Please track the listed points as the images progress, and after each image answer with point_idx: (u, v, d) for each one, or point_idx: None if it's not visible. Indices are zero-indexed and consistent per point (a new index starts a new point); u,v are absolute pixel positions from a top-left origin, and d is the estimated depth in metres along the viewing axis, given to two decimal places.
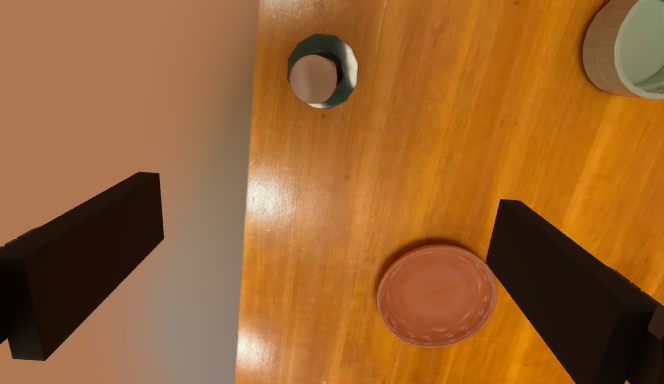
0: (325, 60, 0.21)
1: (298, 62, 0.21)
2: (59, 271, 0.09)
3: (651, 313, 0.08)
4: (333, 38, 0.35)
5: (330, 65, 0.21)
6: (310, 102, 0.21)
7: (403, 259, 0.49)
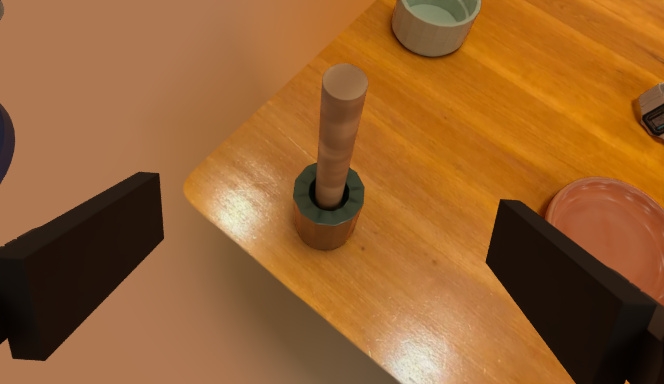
0: (336, 65, 0.22)
1: (324, 82, 0.21)
2: (59, 271, 0.09)
3: (651, 313, 0.08)
4: (308, 168, 0.37)
5: (342, 64, 0.22)
6: (362, 92, 0.21)
7: None
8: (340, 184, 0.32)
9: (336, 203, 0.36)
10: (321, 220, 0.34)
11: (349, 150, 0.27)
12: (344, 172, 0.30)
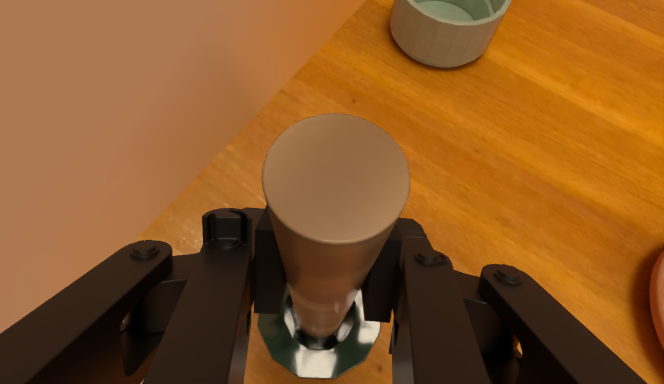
0: (304, 121, 0.07)
1: (267, 184, 0.06)
2: None
3: (399, 247, 0.10)
4: None
5: (323, 116, 0.07)
6: (396, 210, 0.06)
7: None
8: (340, 321, 0.17)
9: (334, 331, 0.20)
10: (309, 370, 0.19)
11: (355, 293, 0.12)
12: (346, 311, 0.15)
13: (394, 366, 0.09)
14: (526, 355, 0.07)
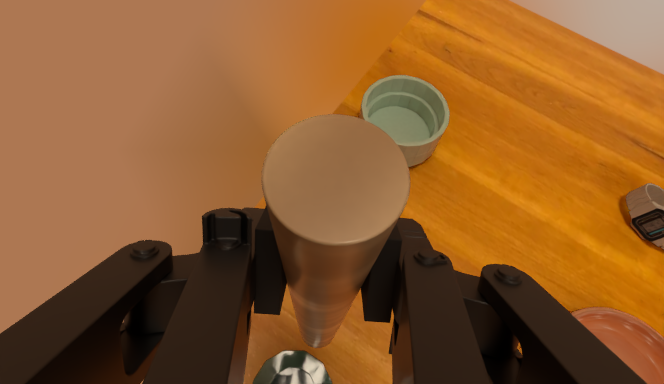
0: (304, 122, 0.07)
1: (267, 185, 0.06)
2: None
3: (399, 247, 0.10)
4: (267, 364, 0.32)
5: (323, 117, 0.07)
6: (396, 211, 0.06)
7: None
8: (339, 321, 0.17)
9: (334, 332, 0.20)
10: None
11: (355, 294, 0.12)
12: (346, 312, 0.15)
13: (394, 366, 0.09)
14: (526, 355, 0.07)
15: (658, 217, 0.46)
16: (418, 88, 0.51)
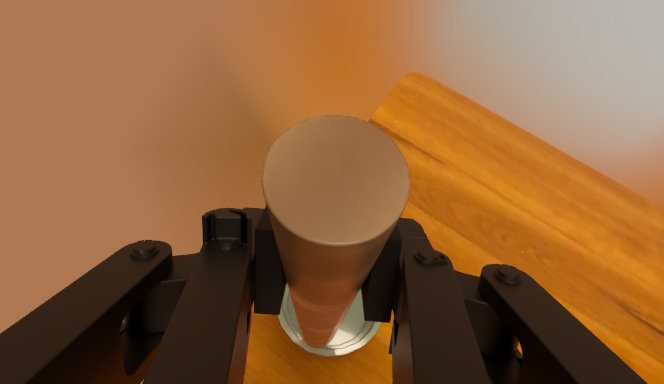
0: (304, 122, 0.07)
1: (267, 186, 0.06)
2: None
3: (399, 247, 0.10)
4: None
5: (323, 118, 0.07)
6: (396, 212, 0.06)
7: None
8: (339, 322, 0.17)
9: (333, 332, 0.20)
10: None
11: (355, 294, 0.12)
12: (346, 312, 0.15)
13: (394, 366, 0.09)
14: (526, 355, 0.07)
15: None
16: None
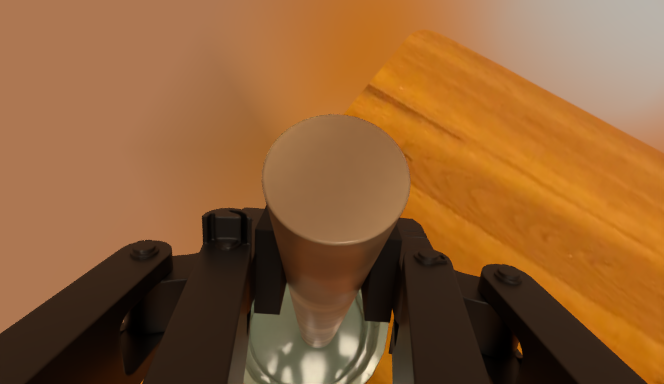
0: (304, 122, 0.07)
1: (267, 185, 0.06)
2: None
3: (400, 247, 0.10)
4: None
5: (323, 117, 0.07)
6: (396, 211, 0.06)
7: None
8: (339, 321, 0.17)
9: (333, 332, 0.20)
10: None
11: (355, 294, 0.12)
12: (345, 312, 0.15)
13: (394, 366, 0.09)
14: (526, 355, 0.07)
15: None
16: None
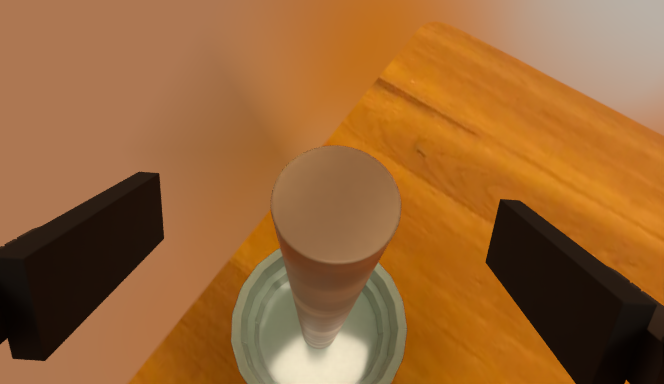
0: (308, 153, 0.08)
1: (276, 211, 0.07)
2: (59, 271, 0.09)
3: (651, 313, 0.08)
4: None
5: (324, 148, 0.08)
6: (388, 234, 0.07)
7: None
8: (340, 325, 0.18)
9: (334, 334, 0.21)
10: None
11: (354, 301, 0.13)
12: (346, 316, 0.16)
13: None
14: None
15: None
16: None
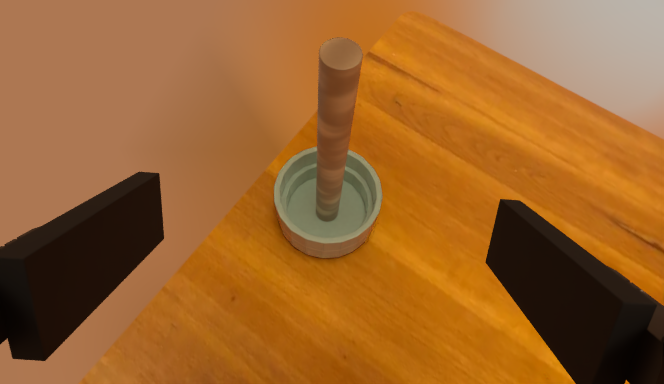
0: (330, 39, 0.23)
1: (321, 55, 0.22)
2: (58, 271, 0.09)
3: (651, 313, 0.08)
4: None
5: (336, 38, 0.23)
6: (358, 62, 0.22)
7: None
8: (341, 166, 0.33)
9: (337, 188, 0.36)
10: None
11: (348, 126, 0.28)
12: (344, 152, 0.31)
13: None
14: None
15: None
16: (350, 160, 0.42)
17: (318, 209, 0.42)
